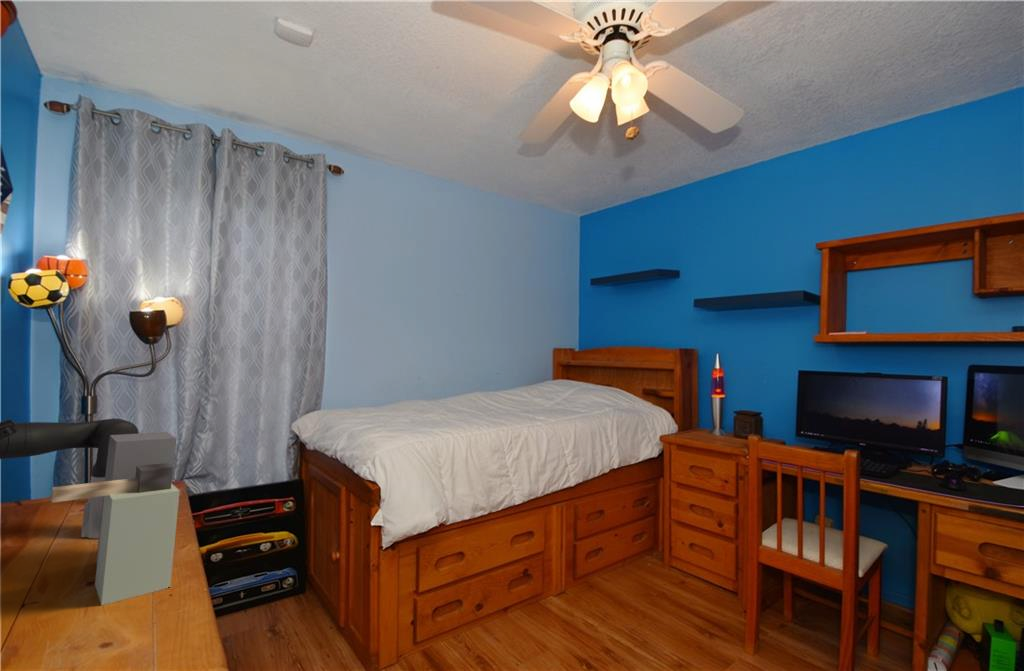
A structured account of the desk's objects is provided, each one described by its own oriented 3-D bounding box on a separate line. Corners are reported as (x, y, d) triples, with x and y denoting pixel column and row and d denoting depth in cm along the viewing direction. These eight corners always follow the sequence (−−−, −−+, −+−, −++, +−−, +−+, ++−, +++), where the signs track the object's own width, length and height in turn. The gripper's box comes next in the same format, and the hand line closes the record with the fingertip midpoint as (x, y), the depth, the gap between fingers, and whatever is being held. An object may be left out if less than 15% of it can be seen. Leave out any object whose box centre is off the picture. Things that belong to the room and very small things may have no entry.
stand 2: (101, 605, 98) (112, 499, 99) (94, 585, 106) (105, 487, 107) (170, 587, 106) (179, 490, 108) (159, 570, 114) (168, 480, 116)
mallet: (52, 504, 94) (54, 479, 95) (50, 497, 98) (53, 473, 99) (170, 488, 109) (173, 467, 109) (165, 483, 113) (167, 462, 113)
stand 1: (102, 578, 109) (116, 442, 111) (96, 562, 117) (109, 435, 119) (164, 564, 118) (176, 438, 120) (154, 550, 126) (166, 431, 128)
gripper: (-118, 463, 83) (3, 413, 94) (-107, 450, 92) (2, 407, 103) (-88, 496, 85) (26, 443, 96) (-80, 480, 95) (23, 434, 106)
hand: (13, 424), depth 100 cm, fingers open, 8 cm apart
